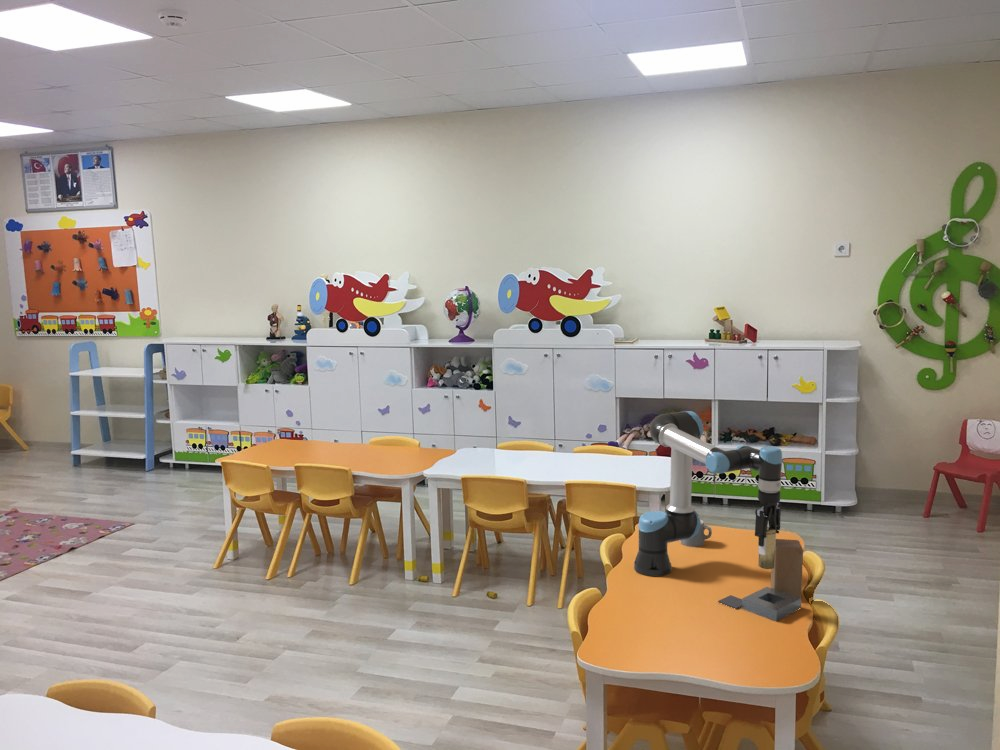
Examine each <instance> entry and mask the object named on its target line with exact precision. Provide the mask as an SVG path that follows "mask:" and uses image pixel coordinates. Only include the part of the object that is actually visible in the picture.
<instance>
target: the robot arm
mask: <svg viewBox="0 0 1000 750" xmlns="http://www.w3.org/2000/svg"><path fill="white" fill-rule="evenodd" d="M703 433H704V424H703V421H702V419H701V418H700V416H699V414H698V413H696V412H694V411H691V410H682V411H676V412H671V413H670V412H668V413H660V414H659V415H657V416H655V417H654V418H653V419H652V421H651V423H650V425H649V434H650V437H651V438H652V440H653V441H654V442H655V443H657V444H658V445H660V446H662V447H664V448H669V447H670V449H671V451H670V482H669V483H670V485H669V487H670V490H669V503H668V505H666V506H665V511H663V510H655V511H654V510H651V511H646V512H644V513H642V514H641V515H640V517H639V520H638V526H637V528H638V551H637V554H636V557H635V560H634V562H633V569H634V571H635V572H636V573H638V574H641V575H643V576H650V577H661V576H666V575H669V574H670V573H671V572H672V563H671V559H670V557H669V554H668V553H669V552H668V544H670V543H673V542H678V541H679V542H680V541H681V540H686V539H689V538H692V537H694V536H695V535H697V533H698V532H699V529H700V520H701V519H700V517H699V516H700V515H699V514H698V513H697V511H696V509H695V507H694V506H693V505H692V487H693V486H692V484H693V483H692V482H693V459H694V460H696V461H698V462H700V463H702V464H704V465H705V467H706V469H707V470H708V472H709V473H711V474H725V473H729V472H735V471H740V470H748V469H751V470H754V471H758V486H757V488H758V492H757V500H758V501H759V502H760V507H759V509H755V511H754V514H755V524H754V525H755V527H754V536H755V537H758V551H757V553H758V555H759V554H762V555H766V542H767V538H766V537H765V535H766V530H767V527H772V528H774V529H776V534H780V530H781V511H782V505H783V504H782V503H780V502H781V486H782V484H781V481H782V464H783V453H782V449H781V448H779V447H778V446H777V447H776V446H771V445H770V446H769V445H768V446H762V447H761V448H760V449H757V448H755V447H752V446H750V445H743V444H741V445H738V446H736V448H734V449H730V450H724V449H721V448H719V447H717V446H715V445H713V444H711V443H708V442H706V441H705V440H702V439H700V438H701V437H702V435H703ZM776 539H777V535H776V536H775V544H776Z"/></svg>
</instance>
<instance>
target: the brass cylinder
mask: <svg viewBox="0 0 1000 750" xmlns="http://www.w3.org/2000/svg"><path fill="white" fill-rule="evenodd" d="M775 536H776V537H777V533H776V529H774V528H772V527H769V526H767V530H766V535H765V537H766V538H767V542H766V555H762V554H758V567H759V568H761V569H765V570H771V569H773V568H774V557H775Z"/></svg>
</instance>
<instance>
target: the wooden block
mask: <svg viewBox="0 0 1000 750" xmlns="http://www.w3.org/2000/svg"><path fill="white" fill-rule="evenodd" d="M803 559H804V549H803V547H802V545H801V542H800V540H798V539H784V538H783V539H782V538H776V544H775V557H774V568H773V569H770V588H773V589H775V590H778V591H781V592H784V593H787V594H790V595H793V596H796V597H799V598H801V599H802V586H803V584H802V583H803V581H802V580H803Z"/></svg>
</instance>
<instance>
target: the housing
mask: <svg viewBox="0 0 1000 750" xmlns="http://www.w3.org/2000/svg"><path fill="white" fill-rule="evenodd" d="M741 599H742V607H741V609H742V610H744V611H747V612H750V613H751V614H755V615H757V616H761V617H762V618H765V619H768V620H772V621H774V622H776V623H777V622H778V621H780V620H782V619H785V617H788V616H790V615H792V614H793V612H794V613H795V611H796V610H797V611H799V610H800V609H799V608H801V607H802V597H801V598H799V597H796V596H793V595H790V594H787V593H784V592H781V591H778V590H775V589H773V588H771V586H764V587H762V588H761V589H759V590H756V591H755V592H753V593H751V594H749V595H746V596H744V597H743V598H741ZM798 609H799V610H798ZM801 609H802V608H801ZM797 611H796V612H797ZM791 613H792V614H791ZM789 614H790V615H789Z"/></svg>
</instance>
